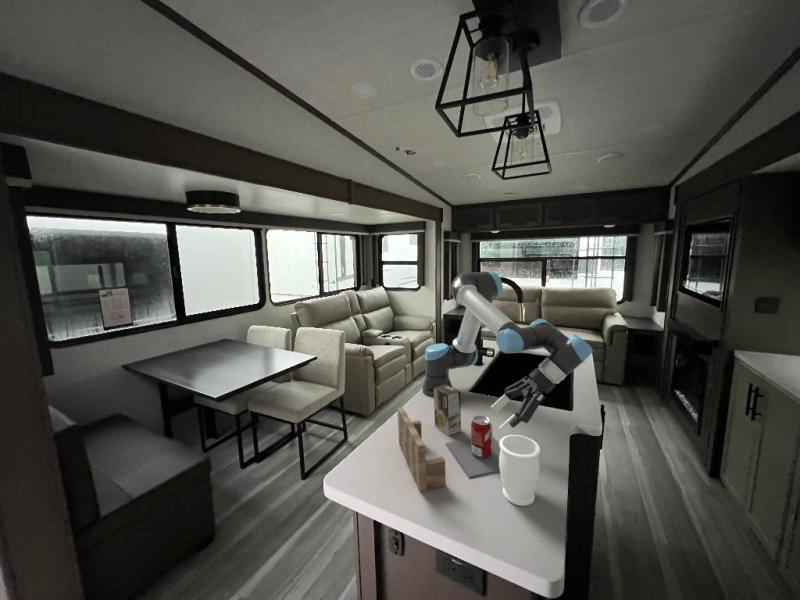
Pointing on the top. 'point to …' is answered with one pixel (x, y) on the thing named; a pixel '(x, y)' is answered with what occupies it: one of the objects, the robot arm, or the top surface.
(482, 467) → the rubber mat
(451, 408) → the coffee box
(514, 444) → the jar
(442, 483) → the walnut bay
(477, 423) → the soda can
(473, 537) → the top surface
